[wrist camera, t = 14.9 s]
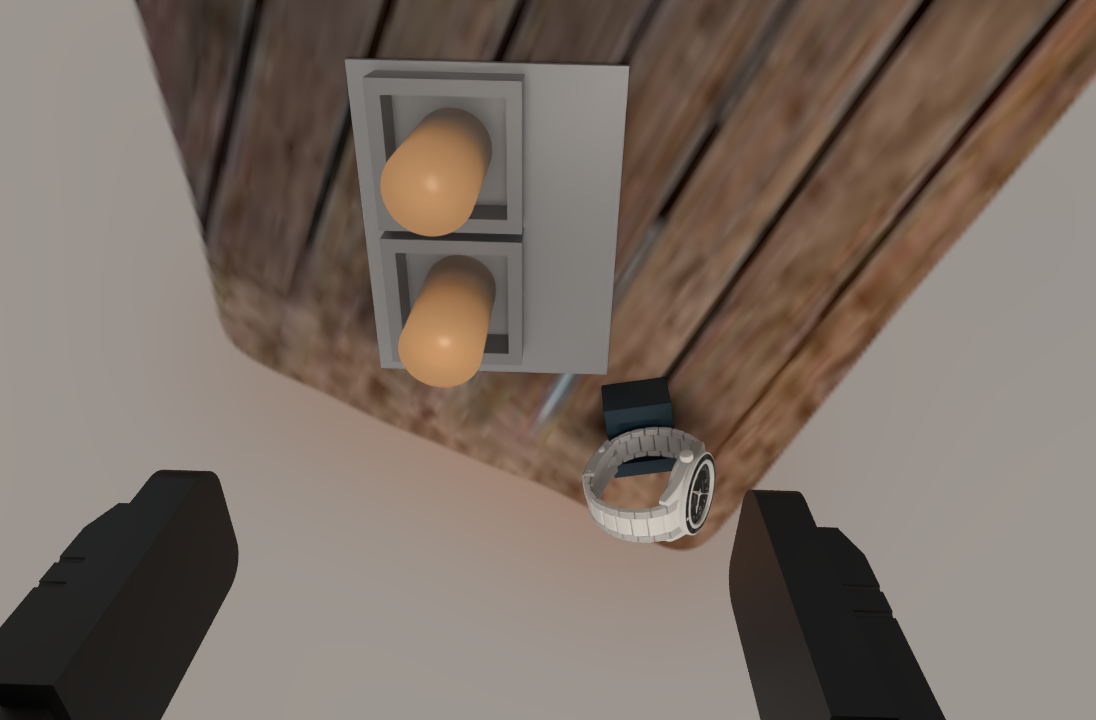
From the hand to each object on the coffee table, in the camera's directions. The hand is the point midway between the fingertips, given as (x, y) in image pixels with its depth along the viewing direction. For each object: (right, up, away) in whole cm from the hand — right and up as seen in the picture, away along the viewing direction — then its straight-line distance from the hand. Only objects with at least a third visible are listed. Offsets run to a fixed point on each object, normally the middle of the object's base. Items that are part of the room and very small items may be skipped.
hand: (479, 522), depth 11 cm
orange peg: (-4, +7, +33) cm, 34 cm away
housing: (-2, +10, +31) cm, 33 cm away
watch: (+7, -1, +38) cm, 39 cm away
